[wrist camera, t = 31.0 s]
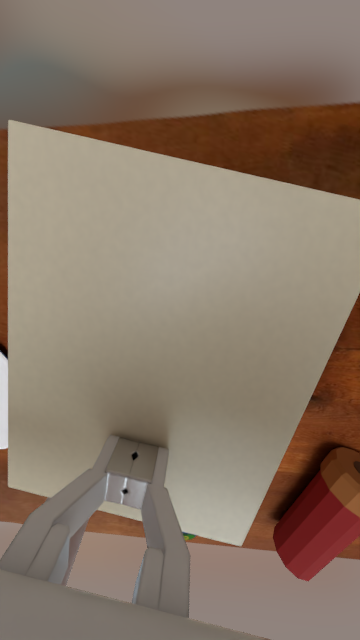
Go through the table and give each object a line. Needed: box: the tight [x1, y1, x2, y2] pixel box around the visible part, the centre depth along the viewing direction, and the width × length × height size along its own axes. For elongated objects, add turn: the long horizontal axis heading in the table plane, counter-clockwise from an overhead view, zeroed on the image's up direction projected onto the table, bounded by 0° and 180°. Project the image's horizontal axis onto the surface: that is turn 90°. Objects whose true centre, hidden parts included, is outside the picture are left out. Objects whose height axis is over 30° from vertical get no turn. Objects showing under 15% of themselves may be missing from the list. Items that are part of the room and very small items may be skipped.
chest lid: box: [8, 120, 360, 546], centre depth 9 cm, size 17×14×1 cm
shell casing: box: [273, 447, 360, 581], centre depth 28 cm, size 7×20×7 cm, turn 165°
